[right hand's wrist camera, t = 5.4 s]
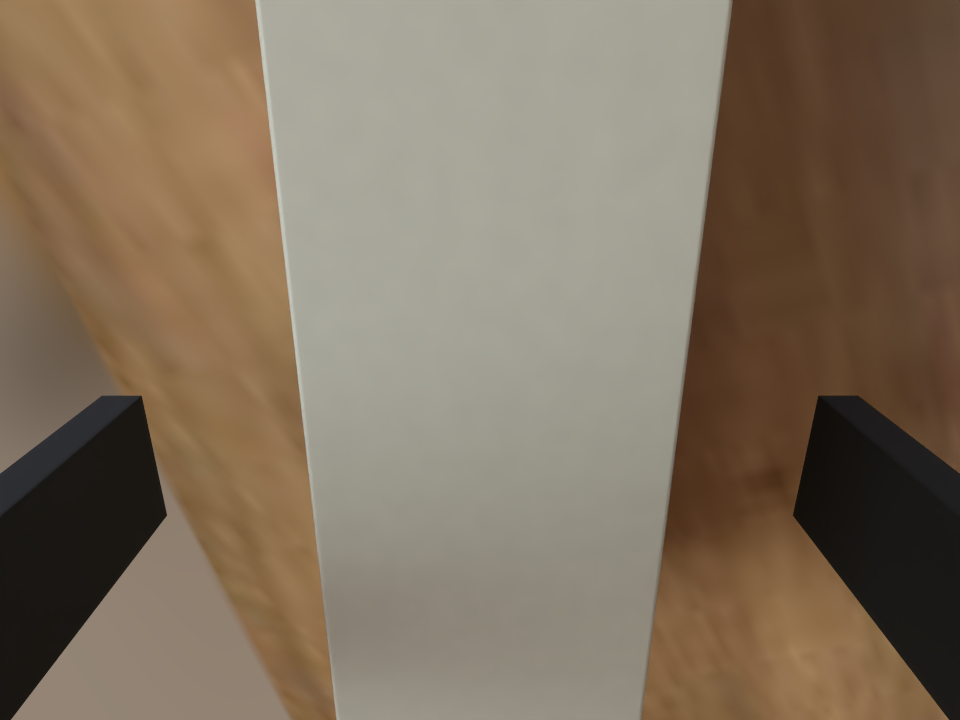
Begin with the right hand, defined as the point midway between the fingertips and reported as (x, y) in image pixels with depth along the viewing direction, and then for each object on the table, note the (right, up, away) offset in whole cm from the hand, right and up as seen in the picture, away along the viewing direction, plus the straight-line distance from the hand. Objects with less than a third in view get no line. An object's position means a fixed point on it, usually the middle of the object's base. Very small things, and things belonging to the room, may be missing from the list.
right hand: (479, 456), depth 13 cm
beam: (0, +20, -5) cm, 21 cm away
